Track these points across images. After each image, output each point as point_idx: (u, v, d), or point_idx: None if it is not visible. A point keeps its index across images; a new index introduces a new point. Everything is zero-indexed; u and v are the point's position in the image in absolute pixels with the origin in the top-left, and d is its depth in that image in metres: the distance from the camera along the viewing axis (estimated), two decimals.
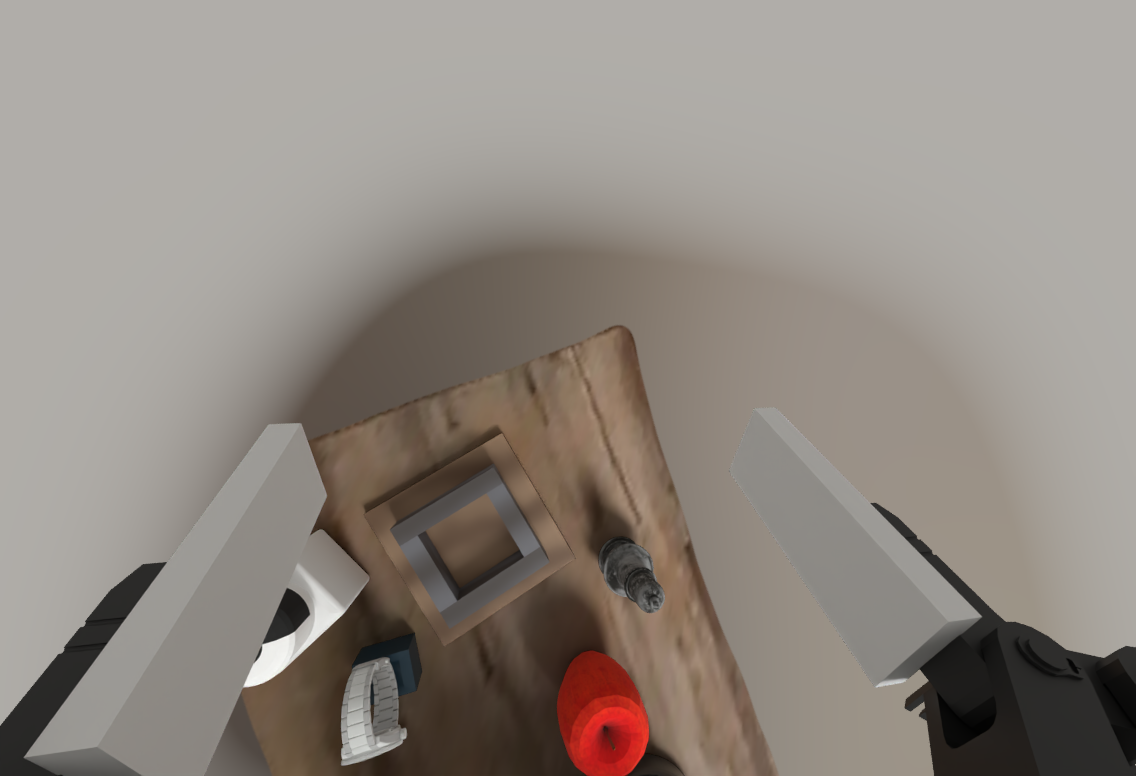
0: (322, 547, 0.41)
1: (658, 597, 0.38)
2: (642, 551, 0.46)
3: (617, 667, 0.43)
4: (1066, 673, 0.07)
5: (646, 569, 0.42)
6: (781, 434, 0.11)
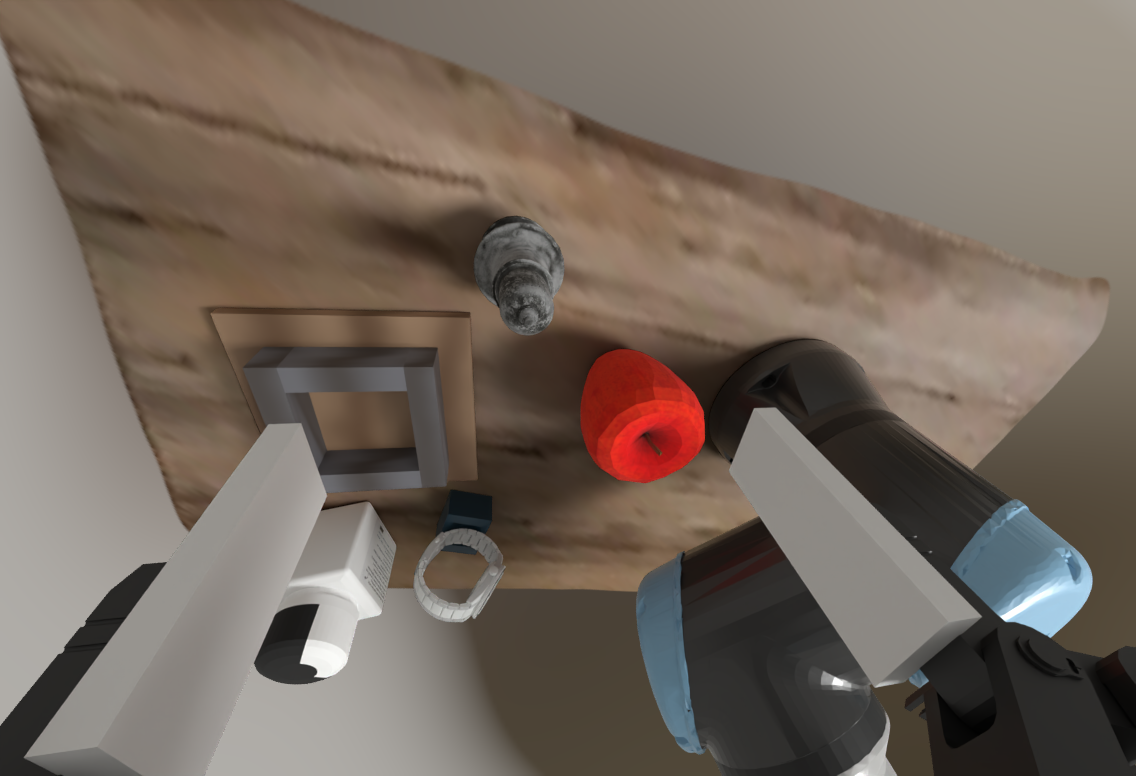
0: None
1: (527, 305, 0.20)
2: (505, 231, 0.25)
3: (614, 370, 0.29)
4: (1066, 674, 0.07)
5: (505, 267, 0.22)
6: (781, 435, 0.11)
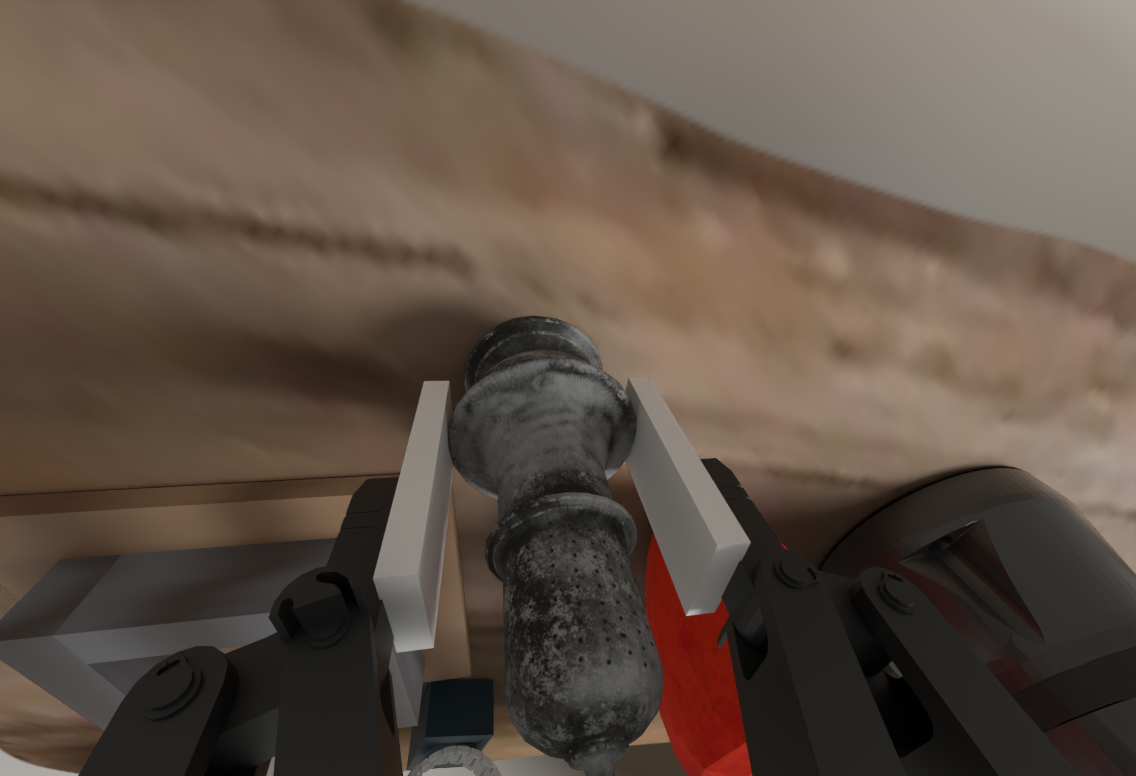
0: None
1: (597, 737, 0.06)
2: (515, 378, 0.11)
3: None
4: (808, 582, 0.08)
5: (519, 518, 0.08)
6: (643, 399, 0.12)
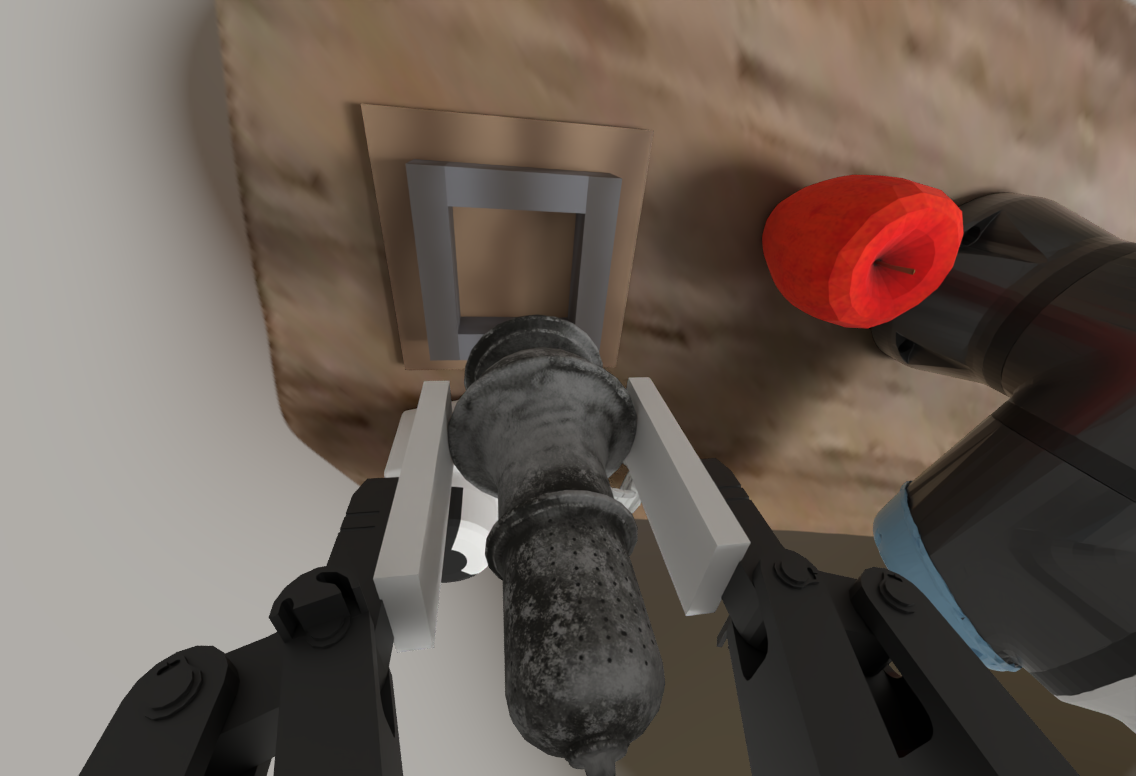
0: None
1: (597, 735, 0.06)
2: (515, 376, 0.11)
3: (838, 184, 0.24)
4: (808, 582, 0.08)
5: (519, 516, 0.08)
6: (643, 399, 0.12)
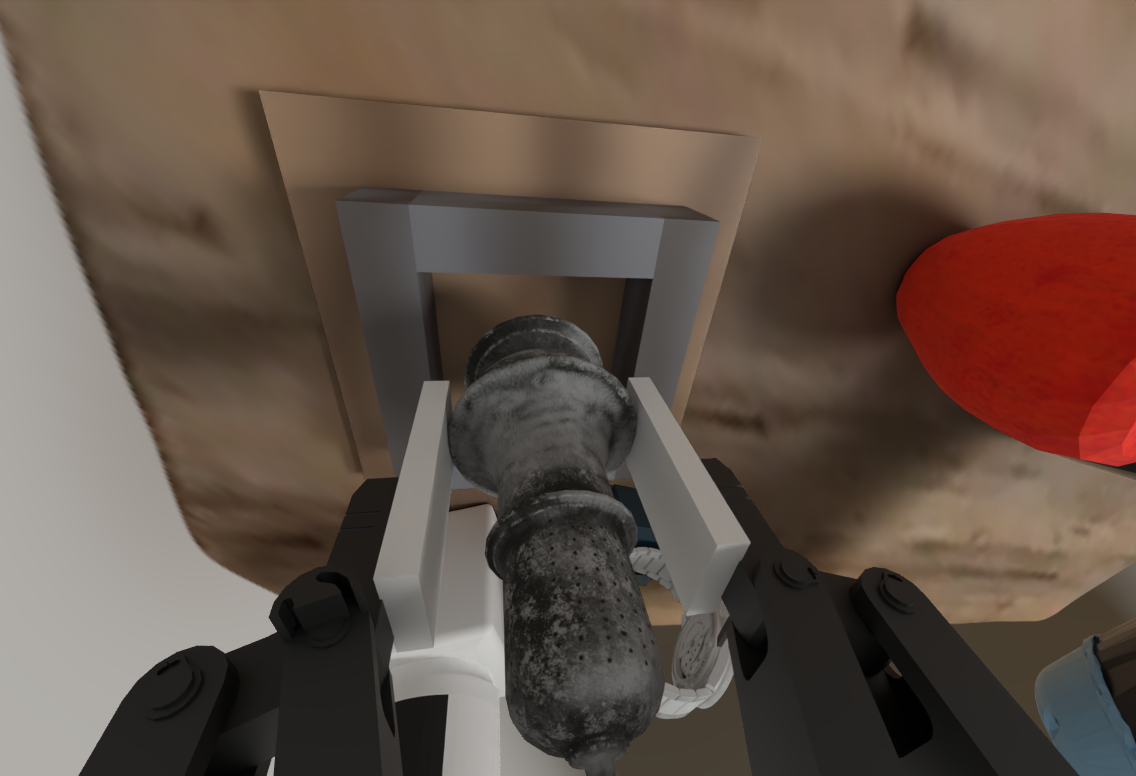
0: None
1: (597, 735, 0.06)
2: (515, 376, 0.11)
3: (1088, 230, 0.14)
4: (808, 582, 0.08)
5: (519, 516, 0.08)
6: (642, 399, 0.12)
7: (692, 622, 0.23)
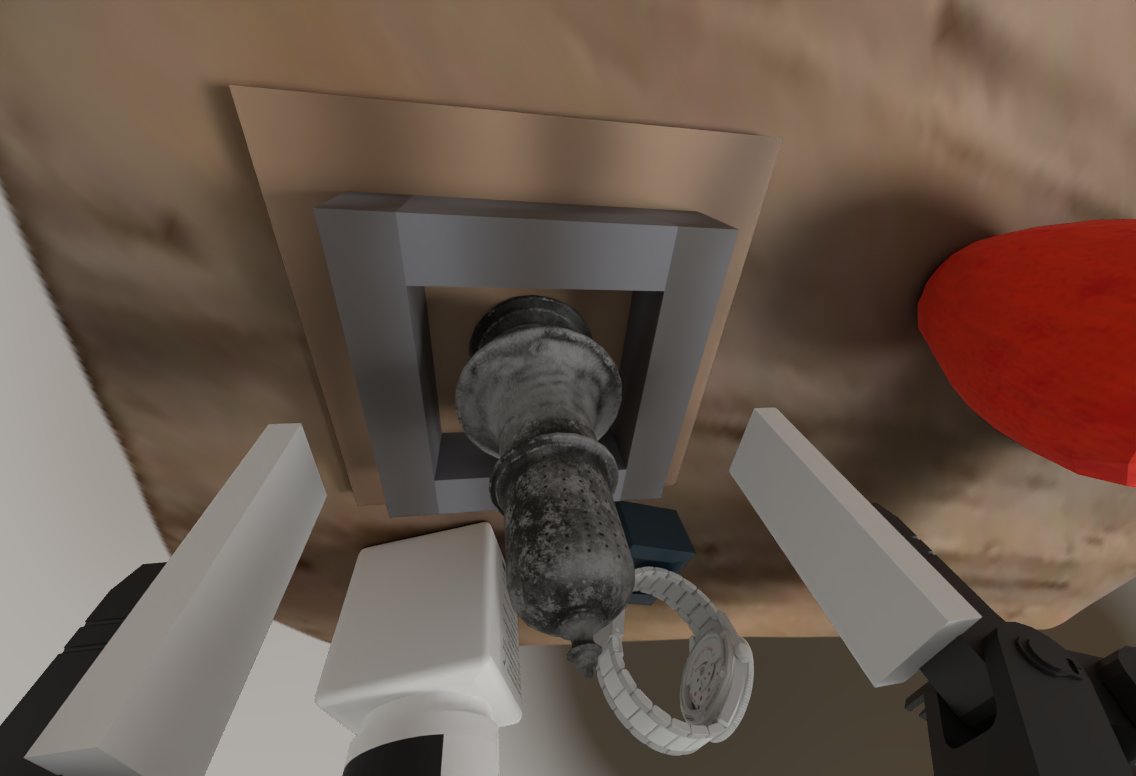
0: (377, 585, 0.21)
1: (579, 607, 0.08)
2: (514, 344, 0.13)
3: None
4: (1066, 673, 0.07)
5: (518, 453, 0.10)
6: (781, 435, 0.11)
7: (701, 647, 0.22)
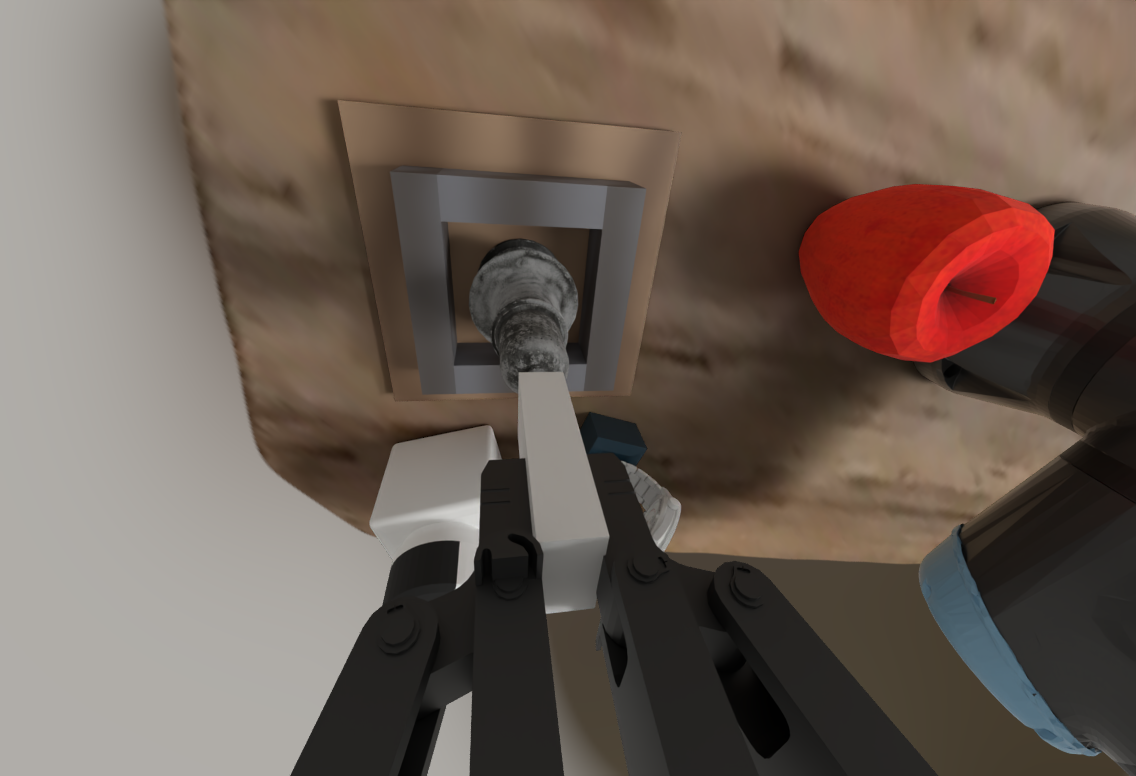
0: (408, 463, 0.29)
1: (536, 365, 0.15)
2: (506, 260, 0.20)
3: (899, 195, 0.20)
4: (659, 572, 0.08)
5: (507, 309, 0.18)
6: (548, 394, 0.12)
7: (648, 512, 0.30)
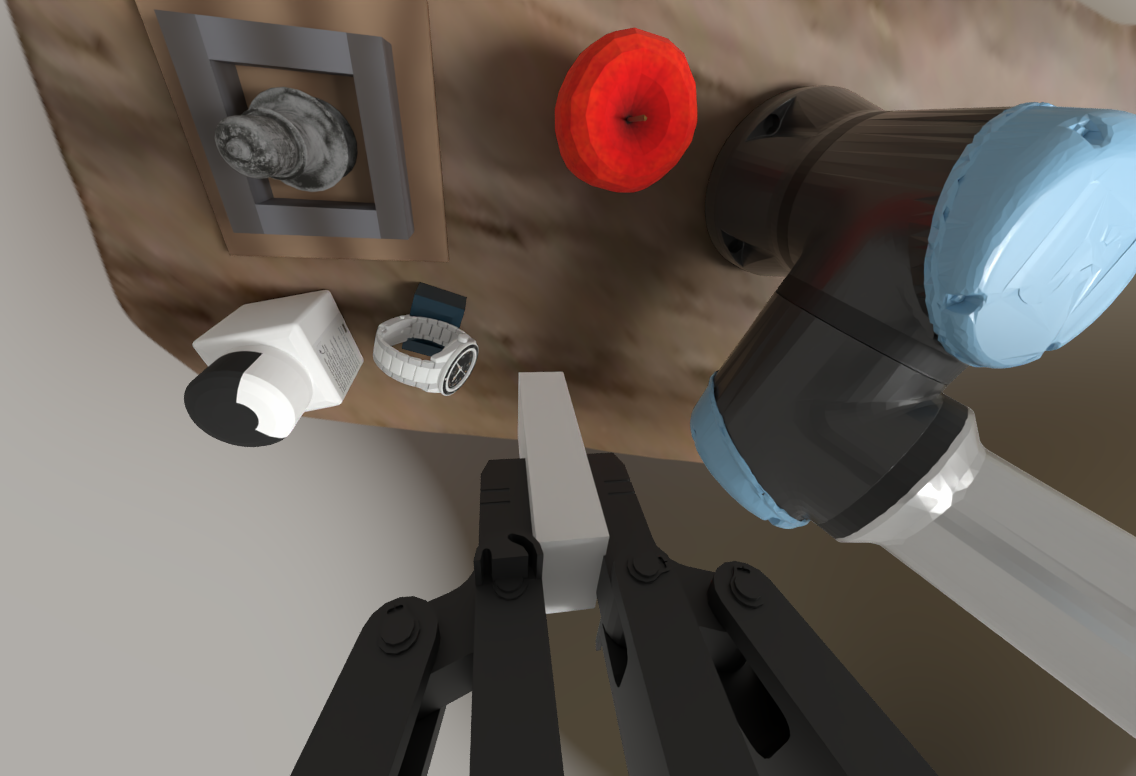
0: (246, 312, 0.33)
1: (234, 136, 0.20)
2: (270, 96, 0.25)
3: None
4: (660, 572, 0.08)
5: None
6: (548, 394, 0.12)
7: None
